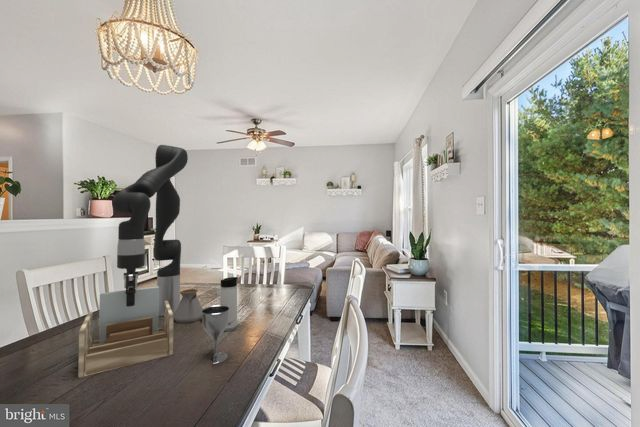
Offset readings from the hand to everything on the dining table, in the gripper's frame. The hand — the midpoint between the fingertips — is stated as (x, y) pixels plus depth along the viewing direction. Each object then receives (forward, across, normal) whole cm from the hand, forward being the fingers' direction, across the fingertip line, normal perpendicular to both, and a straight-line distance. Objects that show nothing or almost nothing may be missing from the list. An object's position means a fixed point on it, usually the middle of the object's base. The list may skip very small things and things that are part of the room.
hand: (130, 302), depth 91 cm
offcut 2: (+14, -7, 0) cm, 16 cm away
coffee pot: (+16, +11, -20) cm, 28 cm away
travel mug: (+16, 0, -32) cm, 36 cm away
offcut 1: (+14, -4, 0) cm, 14 cm away
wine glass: (+16, -21, -22) cm, 34 cm away
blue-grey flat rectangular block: (+14, 0, 0) cm, 14 cm away
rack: (+15, -6, 0) cm, 16 cm away
